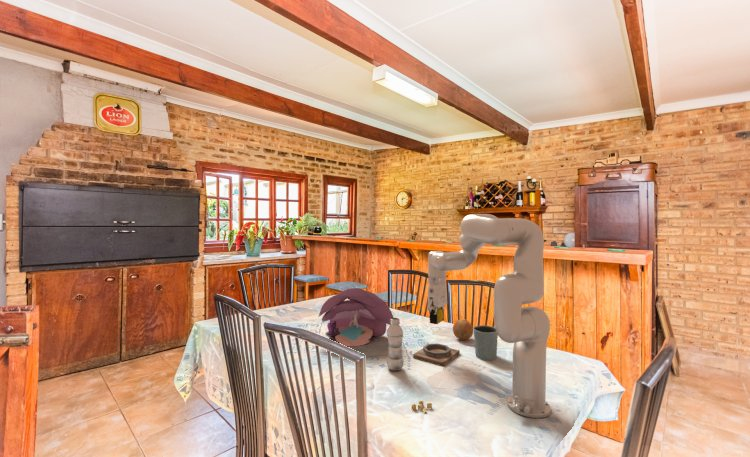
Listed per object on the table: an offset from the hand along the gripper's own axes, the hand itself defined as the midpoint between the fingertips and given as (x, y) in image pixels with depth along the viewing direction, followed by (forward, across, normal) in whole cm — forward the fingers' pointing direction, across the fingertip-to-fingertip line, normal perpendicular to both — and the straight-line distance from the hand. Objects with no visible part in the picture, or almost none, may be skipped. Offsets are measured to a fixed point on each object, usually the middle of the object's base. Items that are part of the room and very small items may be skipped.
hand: (436, 321), depth 151 cm
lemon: (+1, 0, 0) cm, 1 cm away
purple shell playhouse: (+15, -5, +42) cm, 45 cm away
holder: (+15, 0, 0) cm, 15 cm away
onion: (+15, +26, -1) cm, 30 cm away
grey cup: (+15, +12, -17) cm, 26 cm away
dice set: (+16, -40, -16) cm, 46 cm away
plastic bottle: (+15, -22, +7) cm, 28 cm away
